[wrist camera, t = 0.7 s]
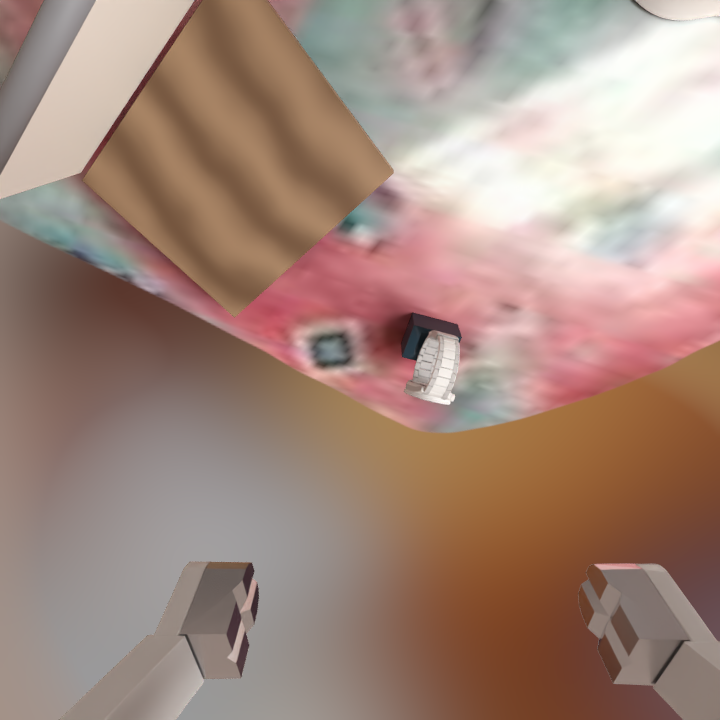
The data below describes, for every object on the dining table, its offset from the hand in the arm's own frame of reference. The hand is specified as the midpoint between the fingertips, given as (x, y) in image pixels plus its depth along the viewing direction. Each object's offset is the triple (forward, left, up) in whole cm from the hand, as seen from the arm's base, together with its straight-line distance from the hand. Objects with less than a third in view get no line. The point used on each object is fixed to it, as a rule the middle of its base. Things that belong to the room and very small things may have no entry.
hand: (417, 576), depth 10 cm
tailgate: (+8, -23, -32) cm, 40 cm away
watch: (+5, +13, -36) cm, 39 cm away
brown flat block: (+8, -13, -36) cm, 39 cm away
